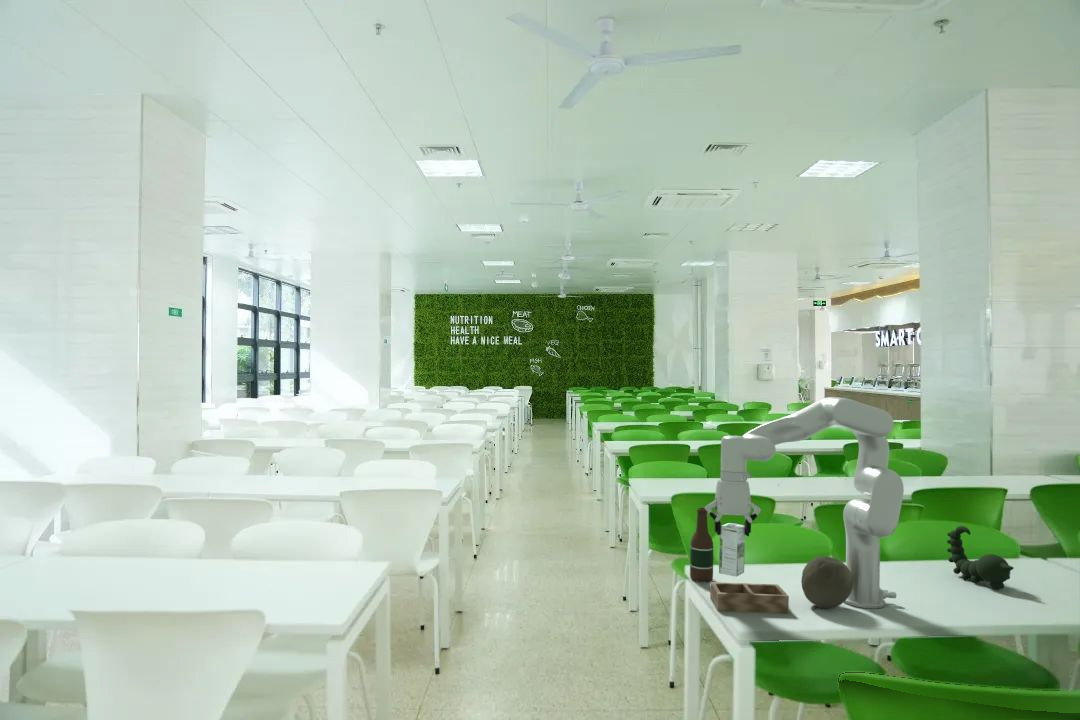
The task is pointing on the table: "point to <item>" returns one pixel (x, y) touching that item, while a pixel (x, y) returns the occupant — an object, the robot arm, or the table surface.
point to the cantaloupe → (826, 582)
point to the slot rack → (749, 597)
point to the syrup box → (732, 549)
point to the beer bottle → (701, 550)
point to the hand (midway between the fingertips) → (732, 534)
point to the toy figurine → (977, 563)
